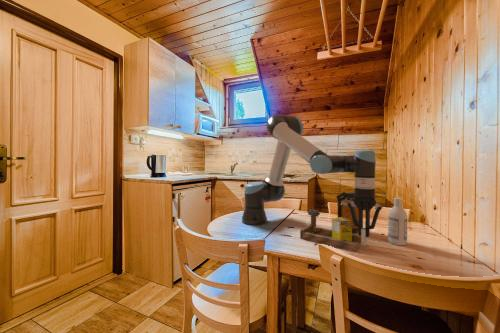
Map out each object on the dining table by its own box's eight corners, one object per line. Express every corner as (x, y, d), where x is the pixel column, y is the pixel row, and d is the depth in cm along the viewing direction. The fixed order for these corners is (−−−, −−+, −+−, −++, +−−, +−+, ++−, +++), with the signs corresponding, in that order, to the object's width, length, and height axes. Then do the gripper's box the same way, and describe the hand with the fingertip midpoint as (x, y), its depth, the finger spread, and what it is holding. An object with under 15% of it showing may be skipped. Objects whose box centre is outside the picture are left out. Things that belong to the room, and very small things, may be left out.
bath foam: (402, 240, 98) (403, 197, 97) (410, 246, 91) (411, 199, 91) (385, 239, 100) (386, 196, 99) (391, 245, 93) (392, 199, 92)
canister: (361, 233, 107) (362, 193, 106) (338, 232, 109) (338, 193, 109) (356, 228, 116) (356, 191, 115) (334, 227, 118) (335, 190, 117)
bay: (295, 237, 103) (295, 213, 103) (308, 229, 115) (309, 208, 114) (355, 252, 86) (355, 224, 86) (363, 240, 98) (364, 216, 97)
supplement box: (352, 245, 93) (352, 220, 93) (340, 246, 92) (340, 221, 91) (343, 240, 99) (343, 216, 98) (331, 241, 97) (331, 217, 97)
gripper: (345, 187, 90) (344, 242, 91) (381, 190, 82) (380, 251, 82) (350, 185, 96) (349, 237, 97) (384, 188, 87) (383, 245, 88)
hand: (363, 243), depth 90 cm, fingers closed
